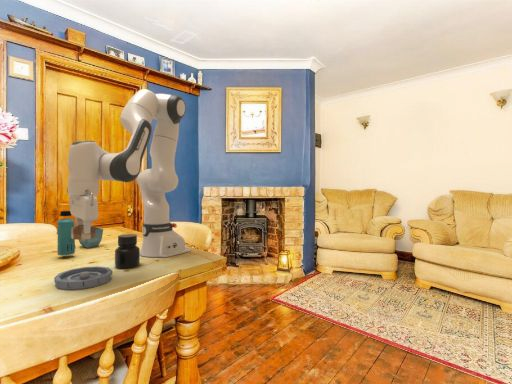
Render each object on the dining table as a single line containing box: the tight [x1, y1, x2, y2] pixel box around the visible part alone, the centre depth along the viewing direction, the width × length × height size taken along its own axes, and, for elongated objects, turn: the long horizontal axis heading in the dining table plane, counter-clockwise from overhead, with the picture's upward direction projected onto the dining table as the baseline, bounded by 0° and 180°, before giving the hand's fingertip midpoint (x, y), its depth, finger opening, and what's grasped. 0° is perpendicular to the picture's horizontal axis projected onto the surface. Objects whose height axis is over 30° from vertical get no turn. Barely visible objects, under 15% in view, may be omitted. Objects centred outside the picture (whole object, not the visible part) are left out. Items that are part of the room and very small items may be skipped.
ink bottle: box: [114, 233, 141, 270], centre depth 115 cm, size 10×9×12 cm
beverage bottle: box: [56, 210, 76, 257], centre depth 125 cm, size 6×7×20 cm
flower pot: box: [78, 226, 104, 249], centre depth 145 cm, size 9×9×9 cm
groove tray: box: [54, 265, 113, 291], centre depth 97 cm, size 16×16×3 cm
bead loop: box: [71, 225, 96, 241], centre depth 97 cm, size 6×6×4 cm
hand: (83, 231), depth 97 cm, fingers closed on bead loop, 6 cm apart
